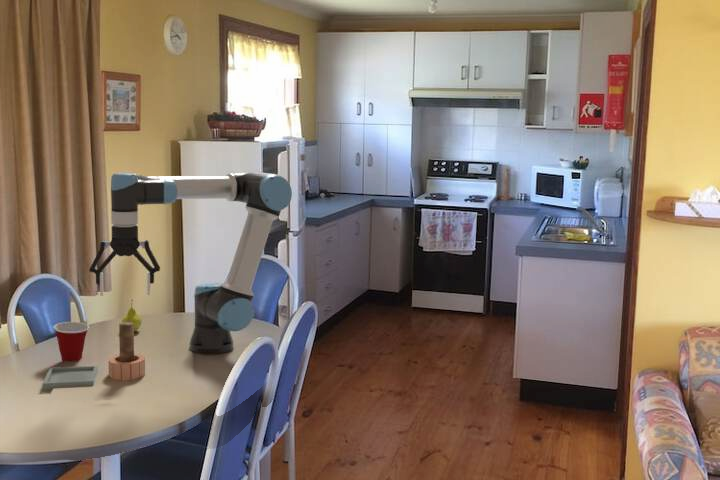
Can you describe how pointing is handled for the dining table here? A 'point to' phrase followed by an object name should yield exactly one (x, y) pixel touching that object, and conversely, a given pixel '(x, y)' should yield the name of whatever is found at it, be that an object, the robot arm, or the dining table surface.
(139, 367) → the pink brick ring
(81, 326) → the plastic cup
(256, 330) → the dining table surface
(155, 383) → the dining table surface
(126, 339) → the dowel
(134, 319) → the fruit
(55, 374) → the dish
